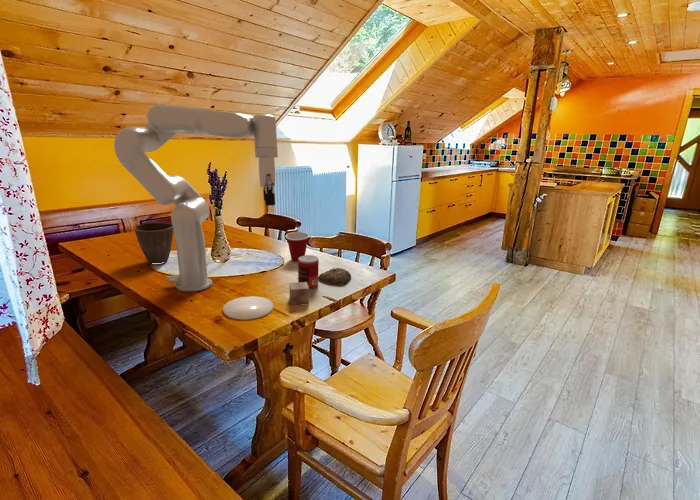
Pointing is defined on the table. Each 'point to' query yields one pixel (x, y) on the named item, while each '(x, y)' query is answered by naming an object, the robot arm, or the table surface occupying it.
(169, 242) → the plant pot
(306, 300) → the walnut block
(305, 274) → the canned food
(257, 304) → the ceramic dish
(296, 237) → the plastic cup
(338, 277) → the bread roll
